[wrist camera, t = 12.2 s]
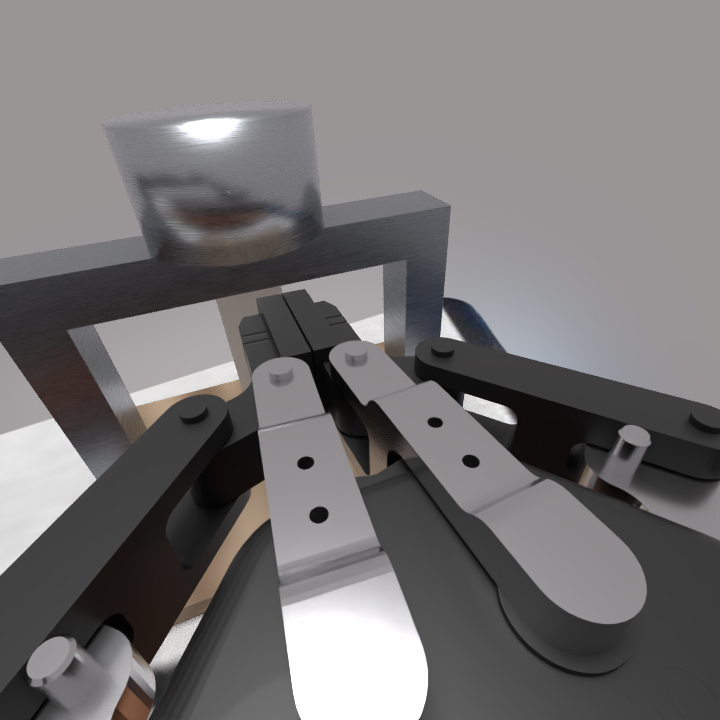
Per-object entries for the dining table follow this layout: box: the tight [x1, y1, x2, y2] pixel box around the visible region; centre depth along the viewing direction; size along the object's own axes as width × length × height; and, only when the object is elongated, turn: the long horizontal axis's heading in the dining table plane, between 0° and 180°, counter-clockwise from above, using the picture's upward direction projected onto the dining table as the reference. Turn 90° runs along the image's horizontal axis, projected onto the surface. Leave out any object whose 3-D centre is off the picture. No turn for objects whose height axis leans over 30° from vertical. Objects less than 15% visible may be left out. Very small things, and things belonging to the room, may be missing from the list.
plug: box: [216, 286, 282, 392], centre depth 38 cm, size 5×6×12 cm
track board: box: [136, 342, 385, 625], centre depth 36 cm, size 27×21×2 cm
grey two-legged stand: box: [0, 101, 451, 479], centre depth 28 cm, size 26×10×24 cm, turn 111°
